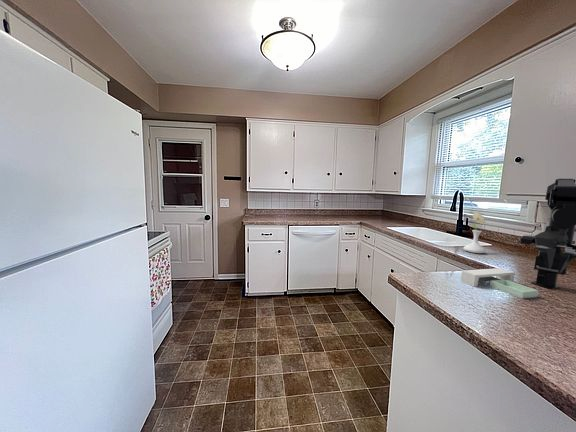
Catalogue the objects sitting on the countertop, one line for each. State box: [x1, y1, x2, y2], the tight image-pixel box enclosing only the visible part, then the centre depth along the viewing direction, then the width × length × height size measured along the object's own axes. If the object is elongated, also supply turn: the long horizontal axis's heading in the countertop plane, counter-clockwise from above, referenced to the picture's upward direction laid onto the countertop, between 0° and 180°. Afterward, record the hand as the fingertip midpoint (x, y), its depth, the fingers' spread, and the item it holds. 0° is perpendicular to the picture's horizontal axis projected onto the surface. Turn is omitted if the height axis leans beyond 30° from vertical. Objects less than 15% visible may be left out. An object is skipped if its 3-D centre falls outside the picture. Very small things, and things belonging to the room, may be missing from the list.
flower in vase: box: [463, 212, 487, 254], centre depth 155 cm, size 13×11×25 cm
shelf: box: [460, 267, 516, 287], centre depth 103 cm, size 22×6×5 cm, turn 106°
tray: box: [489, 279, 539, 300], centre depth 94 cm, size 8×11×2 cm
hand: (554, 270), depth 83 cm, fingers open, 3 cm apart
